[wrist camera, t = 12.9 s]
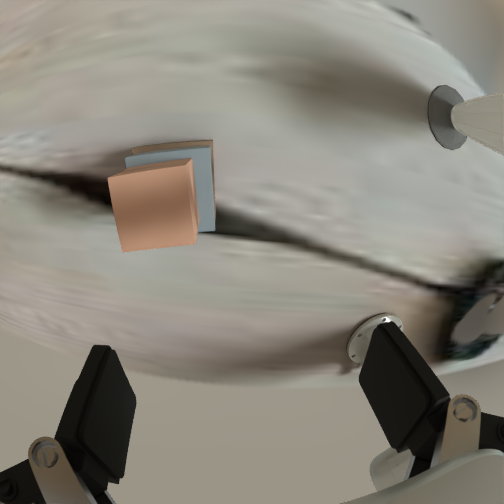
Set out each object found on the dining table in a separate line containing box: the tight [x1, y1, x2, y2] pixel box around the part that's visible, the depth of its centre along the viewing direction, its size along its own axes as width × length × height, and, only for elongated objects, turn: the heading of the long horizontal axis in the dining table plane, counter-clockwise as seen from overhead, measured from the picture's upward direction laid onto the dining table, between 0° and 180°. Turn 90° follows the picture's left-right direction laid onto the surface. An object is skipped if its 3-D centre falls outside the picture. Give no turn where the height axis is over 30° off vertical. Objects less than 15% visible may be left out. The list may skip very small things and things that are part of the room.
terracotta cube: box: [108, 158, 199, 252], centre depth 22 cm, size 6×6×6 cm
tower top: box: [125, 145, 215, 232], centre depth 28 cm, size 8×8×5 cm
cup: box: [428, 85, 504, 155], centre depth 24 cm, size 12×12×22 cm
